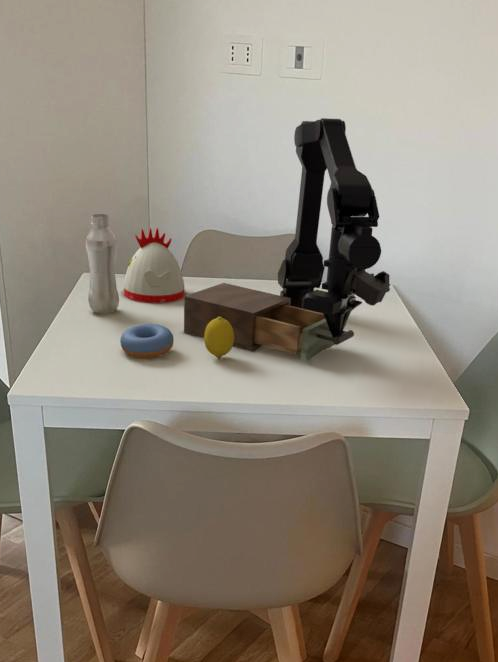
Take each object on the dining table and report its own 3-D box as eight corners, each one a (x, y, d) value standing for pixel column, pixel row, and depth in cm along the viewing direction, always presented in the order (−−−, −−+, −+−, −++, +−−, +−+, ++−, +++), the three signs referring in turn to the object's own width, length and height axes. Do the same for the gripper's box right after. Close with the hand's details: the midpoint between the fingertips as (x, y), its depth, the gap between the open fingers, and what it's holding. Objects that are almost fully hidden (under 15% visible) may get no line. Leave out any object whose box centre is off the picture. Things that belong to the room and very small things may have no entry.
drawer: (359, 349, 157) (363, 320, 154) (329, 366, 147) (332, 335, 145) (271, 326, 166) (273, 299, 163) (237, 341, 157) (238, 312, 154)
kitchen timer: (121, 286, 191) (119, 221, 183) (178, 285, 194) (179, 221, 187) (127, 303, 179) (126, 234, 172) (188, 302, 182) (189, 234, 175)
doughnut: (130, 364, 146) (129, 340, 144) (113, 346, 154) (113, 323, 152) (181, 358, 150) (181, 334, 148) (163, 341, 158) (163, 318, 156)
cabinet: (288, 334, 165) (290, 298, 162) (251, 351, 155) (253, 312, 152) (222, 317, 173) (223, 282, 170) (183, 332, 163) (184, 295, 159)
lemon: (232, 364, 149) (234, 322, 145) (202, 362, 149) (203, 320, 145) (233, 353, 153) (235, 313, 150) (204, 352, 153) (205, 311, 150)
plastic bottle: (124, 309, 175) (122, 214, 165) (110, 318, 169) (106, 220, 160) (98, 305, 177) (94, 211, 167) (82, 313, 171) (77, 216, 161)
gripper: (361, 273, 133) (351, 362, 141) (407, 254, 147) (396, 336, 155) (303, 261, 139) (296, 347, 146) (353, 244, 153) (344, 324, 160)
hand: (336, 338), depth 152 cm, fingers closed, pressing on drawer
